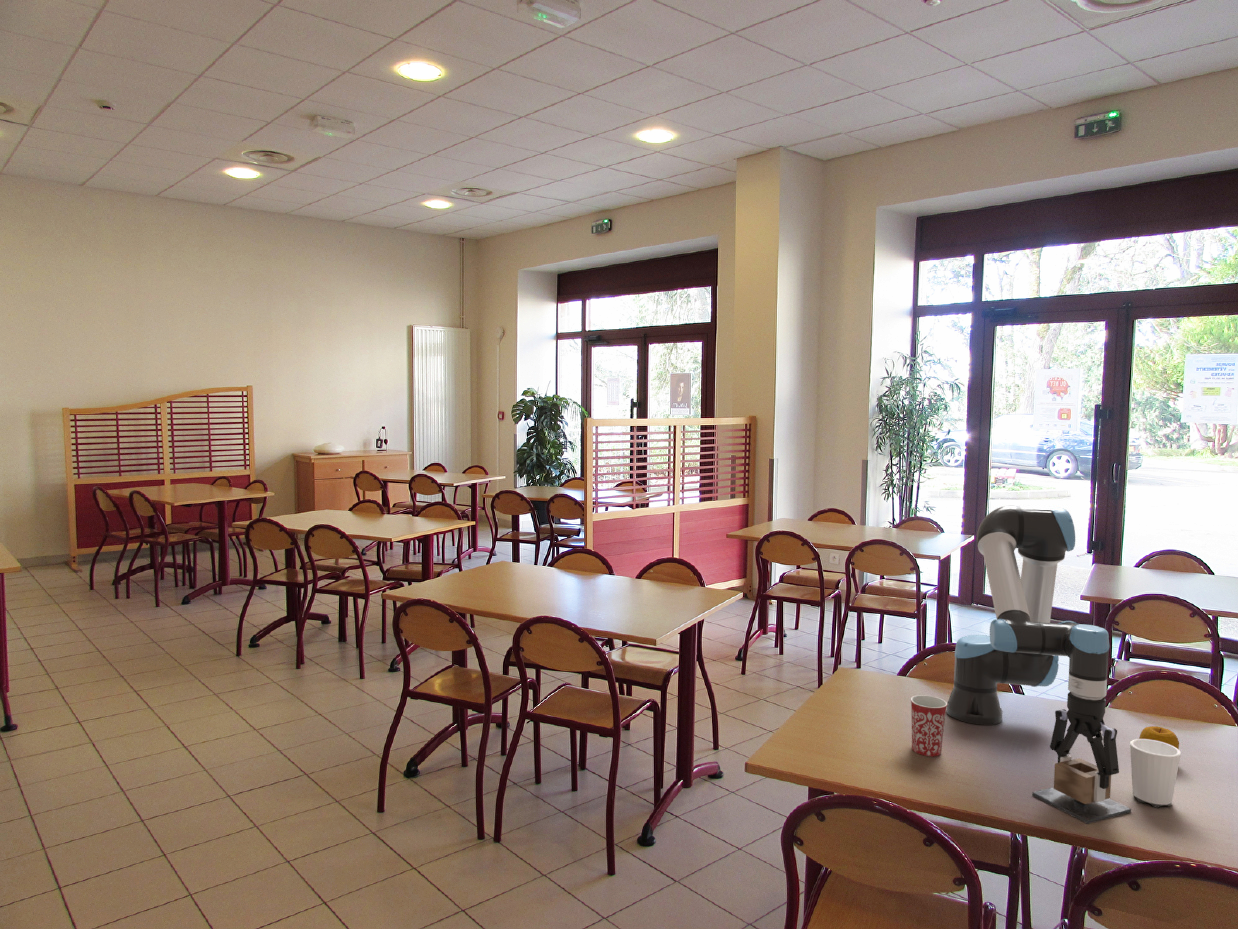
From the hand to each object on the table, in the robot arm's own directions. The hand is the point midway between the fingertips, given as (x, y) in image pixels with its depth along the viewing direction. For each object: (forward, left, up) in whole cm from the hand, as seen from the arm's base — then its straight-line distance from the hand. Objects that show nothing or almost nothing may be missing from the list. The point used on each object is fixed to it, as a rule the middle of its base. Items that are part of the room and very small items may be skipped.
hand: (1081, 792), depth 186 cm
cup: (-17, +5, -3) cm, 18 cm away
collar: (0, 0, 0) cm, 0 cm away
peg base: (0, 0, -3) cm, 3 cm away
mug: (+11, -37, -3) cm, 39 cm away
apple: (-40, -9, -3) cm, 41 cm away
